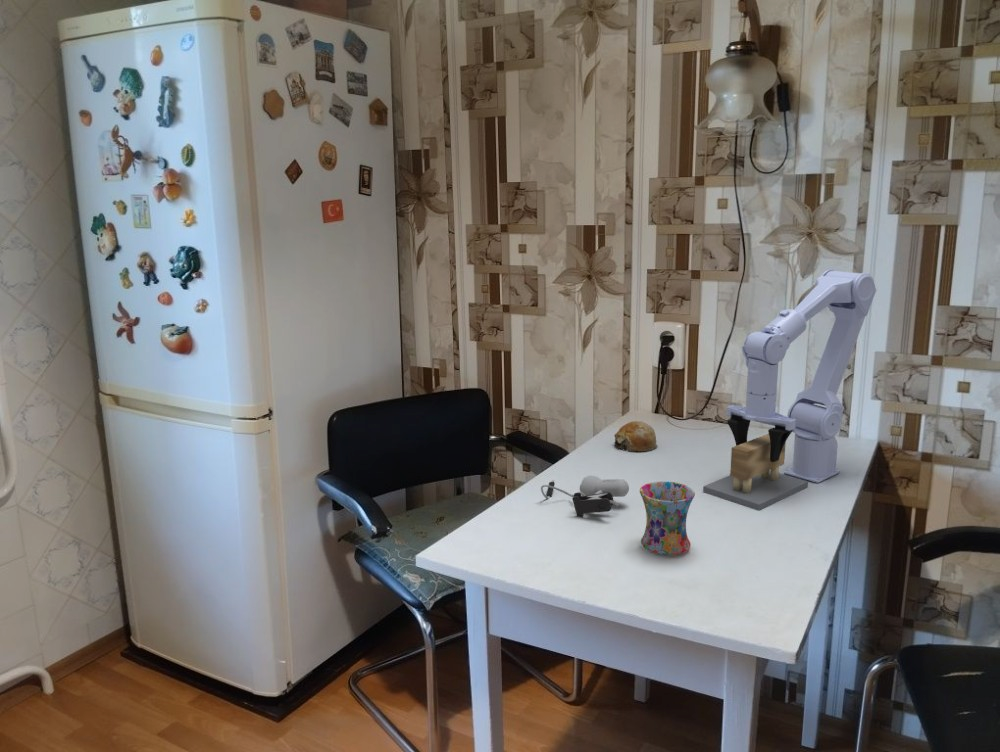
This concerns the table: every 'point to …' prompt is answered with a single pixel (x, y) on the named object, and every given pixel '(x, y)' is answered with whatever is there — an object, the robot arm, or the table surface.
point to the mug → (666, 517)
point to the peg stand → (756, 488)
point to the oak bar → (753, 458)
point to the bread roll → (636, 437)
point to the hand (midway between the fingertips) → (757, 456)
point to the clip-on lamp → (593, 494)
